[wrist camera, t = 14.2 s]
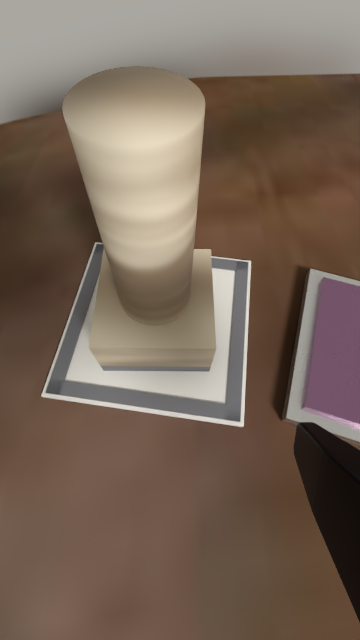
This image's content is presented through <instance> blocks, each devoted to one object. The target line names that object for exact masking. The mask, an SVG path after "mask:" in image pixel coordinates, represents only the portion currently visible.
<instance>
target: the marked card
mask: <svg viewBox="0 0 360 640" xmlns="http://www.w3.org/2000/svg"><path fill="white" fill-rule="evenodd" d="M103 249H104V246H103V243H98V242H95V244H94V247H93V250H92V253H91V256H90V258H89V261H88V264H87V267H86V270H85V273H84V276H83V278H82V281H81V284H80V287H79V290H78V293H77V296H76V298H75V301H74V304H73V307H72V310H71V313H70V315H69V318H68V321H67V324H66V327H65V330H64V333H63V335H62V338H61V341H60V344H59V347H58V350H57V352H56V355H55V358H54V361H53V364H52V367H51V370H50V372H49V375H48V378H47V381H46V384H45V387H44V389H43V392H42V395H41V396H42V397H45V398H52V399H59V400H65V401H72V402H79V403H85V404H92V405H99V406H105V407H112V408H119V409H125V410H132V411H139V412H145V413H152V414H159V415H165V416H172V417H179V418H185V419H192V420H199V421H205V422H212V423H219V424H225V425H232V426H239V427H244V407H245V385H246V363H247V341H248V319H249V297H250V275H251V261H246V260H238V259H230V258H222V257H213V256H211V261H212V279H213V297H214V316H215V334H216V351H215V355H214V358H213V361H212V364H211V368H210V371H103V369H102V368H101V366H100V364H99V363H98V361H97V360H96V358H95V357H94V355H93V354H92V352H91V351H90V349H89V342H90V335H91V329H92V322H93V316H94V309H95V302H96V296H97V289H98V282H99V276H100V269H101V262H102V256H103Z"/></svg>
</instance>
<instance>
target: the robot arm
mask: <svg viewBox="0 0 360 640" xmlns="http://www.w3.org/2000/svg"><path fill="white" fill-rule="evenodd" d="M294 455H295V459H296V462H297V465H298V468H299V472H300V475H301V478H302V481H303V484H304V487H305V491H306V494H307V497H308V500H309V503H310V506H311V509H312V512H313V514H314V517H315V519H316V522H317V524H318V527H319V529H320V531H321V533H322V536H323V538H324V540H325V543H326V545H327V547H328V550H329V552H330V554H331V557H332V559H333V561H334V564H335V566H336V568H337V571H338V573H339V575H340V578H341V580H342V582H343V585H344V587H345V589H346V592H347V594H348V596H349V598H350V601H351V603H352V605H353V608H354V610H355V612H356V615H357V617H358V619H359V622H360V450H358V449H357V448H355V447H353V446H352V445H350V444H349V443H347V442H345V441H344V440H342V439H340V438H339V437H337V436H335V435H334V434H332V433H331V432H329V431H327V430H326V429H324V428H322V427H321V426H319V425H317V424H316V423H314V422H300V423H298V425H297V428H296V435H295V442H294Z"/></svg>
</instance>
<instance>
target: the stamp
mask: <svg viewBox="0 0 360 640" xmlns="http://www.w3.org/2000/svg"><path fill="white" fill-rule="evenodd" d="M62 108H63V115H64V118H65V122H66V125H67V128H68V131H69V135H70V138H71V141H72V145H73V148H74V151H75V154H76V158H77V161H78V164H79V167H80V171H81V174H82V177H83V181H84V184H85V187H86V190H87V194H88V197H89V200H90V203H91V207H92V210H93V213H94V217H95V220H96V223H97V226H98V230H99V233H100V236H101V239H102V243H103V246H104V249H103V256H102V262H101V269H100V276H99V282H98V289H97V296H96V302H95V309H94V316H93V322H92V329H91V335H90V342H89V349H90V351H91V352H92V354H93V355H94V357H95V358H96V360H97V361H98V363H99V364H100V366H101V368H102V369H103V371H210V368H211V364H212V361H213V358H214V355H215V351H216V334H215V316H214V297H213V279H212V261H211V249H194V240H195V227H196V215H197V202H198V190H199V177H200V165H201V152H202V139H203V127H204V114H205V99H204V96H203V94H202V92H201V91H200V89H199V88H198V87H197V86H196V85H195V84H194V83H193V82H191V81H190V80H189V79H187V78H185V77H183V76H181V75H179V74H177V73H174V72H171V71H168V70H164V69H159V68H153V67H141V66H132V67H120V68H114V69H109V70H105V71H102V72H98V73H96V74H93V75H91V76H89V77H87V78H85V79H83V80H82V81H80V82H79V83H77V84H76V85H75V86H74V87H73V88H72V89H71V90H70V91H69V92H68V93H67V95H66V97H65V99H64V101H63V107H62Z"/></svg>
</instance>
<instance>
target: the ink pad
mask: <svg viewBox="0 0 360 640" xmlns="http://www.w3.org/2000/svg"><path fill="white" fill-rule="evenodd" d="M282 421H284V422H287V423H290V424H293V425H296V426H297V425H298V423H300V422H314V423H316V424H317V425H319V426H321V427H322V428H324V429H326V430H327V431H329V432H331V433H332V434H334V435H335V436H337V437H339V438H340V439H342V440H344V441H345V442H348V443H351V444H354V445H357V446H360V281H357V280H353V279H349V278H345V277H341V276H337V275H334V274H330V273H326V272H322V271H318V270H314V269H310V270H309V272H308V273H307V275H306V278H305V284H304V290H303V296H302V302H301V308H300V314H299V320H298V326H297V332H296V338H295V343H294V349H293V355H292V361H291V367H290V373H289V379H288V385H287V391H286V397H285V403H284V409H283V415H282Z"/></svg>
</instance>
